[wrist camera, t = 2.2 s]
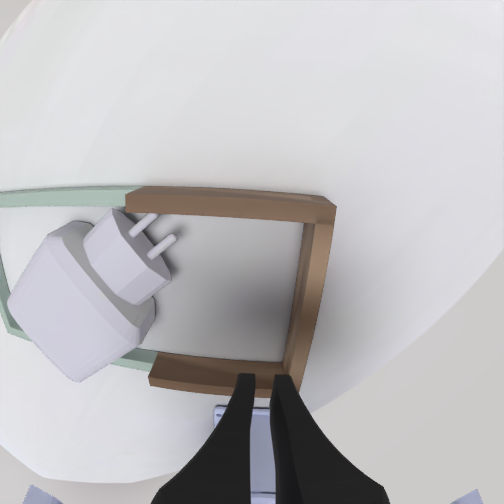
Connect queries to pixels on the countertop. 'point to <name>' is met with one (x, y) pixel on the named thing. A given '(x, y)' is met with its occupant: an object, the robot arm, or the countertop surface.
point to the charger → (91, 292)
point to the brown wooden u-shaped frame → (306, 291)
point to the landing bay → (69, 197)
